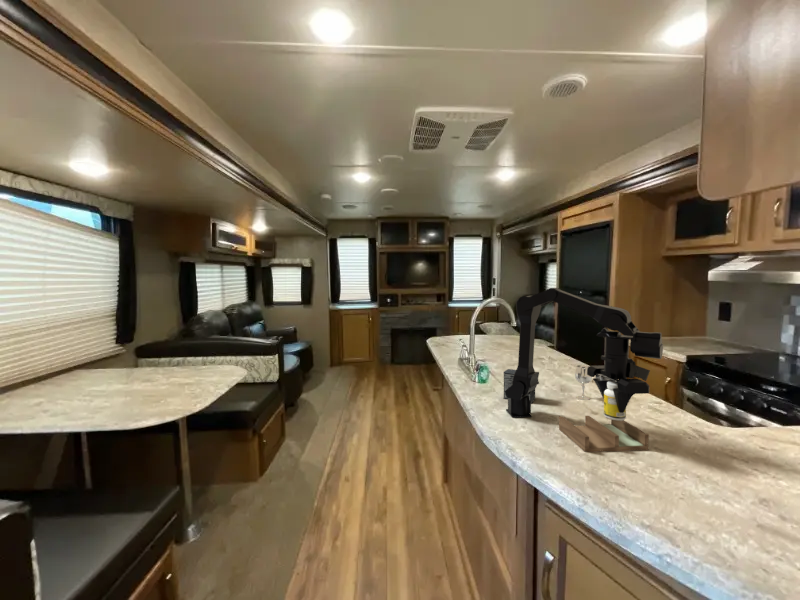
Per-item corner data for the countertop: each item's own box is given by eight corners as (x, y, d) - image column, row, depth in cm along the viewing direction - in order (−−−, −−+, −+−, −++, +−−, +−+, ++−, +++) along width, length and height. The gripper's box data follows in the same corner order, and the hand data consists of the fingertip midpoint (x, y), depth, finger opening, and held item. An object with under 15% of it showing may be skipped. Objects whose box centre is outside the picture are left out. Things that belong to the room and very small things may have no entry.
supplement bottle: (606, 412, 105) (607, 379, 104) (627, 417, 101) (628, 382, 100) (601, 417, 101) (602, 383, 100) (623, 422, 97) (624, 387, 96)
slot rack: (585, 451, 94) (585, 436, 93) (559, 429, 108) (559, 416, 107) (648, 449, 94) (648, 434, 94) (614, 427, 108) (614, 414, 108)
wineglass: (590, 401, 131) (590, 369, 131) (573, 398, 135) (573, 367, 134) (593, 397, 136) (593, 366, 135) (576, 394, 139) (576, 364, 139)
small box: (535, 398, 135) (536, 371, 135) (532, 404, 130) (532, 375, 129) (507, 394, 141) (507, 368, 140) (502, 399, 136) (503, 371, 135)
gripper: (671, 360, 91) (668, 421, 92) (622, 346, 109) (620, 397, 110) (628, 361, 90) (626, 422, 91) (586, 347, 109) (585, 397, 110)
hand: (614, 408), depth 101 cm, fingers closed on supplement bottle, 5 cm apart
